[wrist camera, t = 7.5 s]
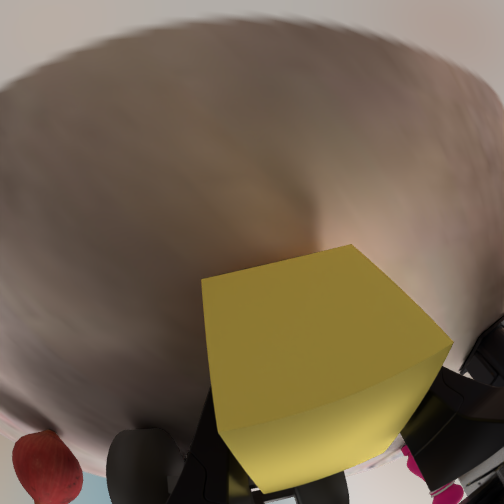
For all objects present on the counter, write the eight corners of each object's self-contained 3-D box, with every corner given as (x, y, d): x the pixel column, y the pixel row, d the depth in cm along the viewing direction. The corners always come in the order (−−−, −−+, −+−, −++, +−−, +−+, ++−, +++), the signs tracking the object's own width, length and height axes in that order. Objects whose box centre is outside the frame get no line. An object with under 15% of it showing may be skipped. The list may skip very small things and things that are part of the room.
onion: (92, 436, 14) (87, 528, 6) (80, 452, 15) (76, 526, 8) (22, 402, 11) (2, 494, 4) (22, 425, 12) (9, 498, 5)
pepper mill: (423, 438, 35) (461, 504, 18) (394, 455, 35) (431, 525, 17) (436, 423, 32) (480, 495, 14) (405, 442, 31) (448, 521, 14)
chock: (351, 244, 9) (453, 342, 4) (340, 371, 12) (384, 452, 8) (201, 279, 8) (217, 432, 4) (240, 400, 11) (263, 493, 7)
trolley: (320, 367, 13) (399, 527, 5) (312, 454, 21) (343, 532, 12) (98, 407, 12) (92, 559, 3) (186, 479, 19) (199, 559, 11)
